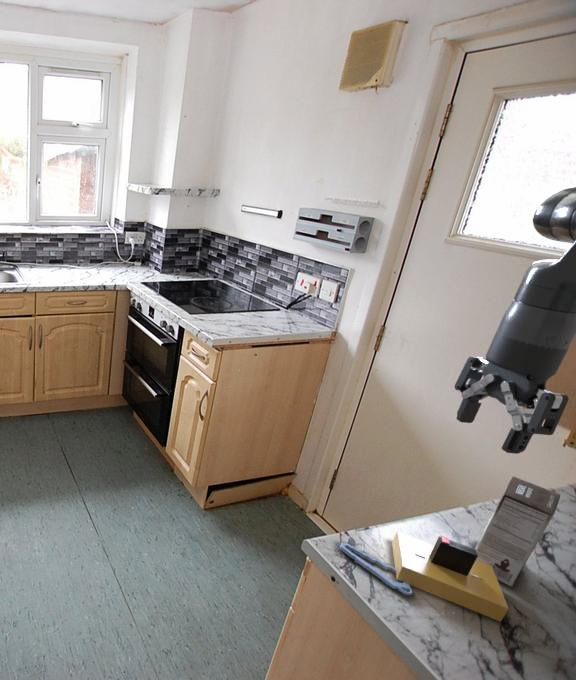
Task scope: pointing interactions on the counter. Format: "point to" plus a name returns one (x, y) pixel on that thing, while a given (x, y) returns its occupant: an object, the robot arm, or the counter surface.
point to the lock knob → (453, 556)
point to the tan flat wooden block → (448, 578)
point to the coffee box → (516, 528)
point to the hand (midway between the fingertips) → (485, 435)
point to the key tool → (386, 580)
